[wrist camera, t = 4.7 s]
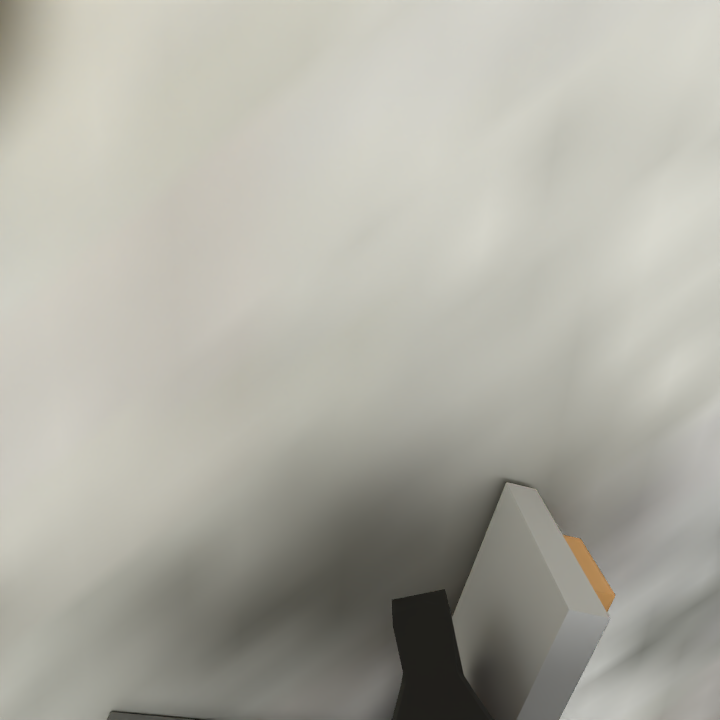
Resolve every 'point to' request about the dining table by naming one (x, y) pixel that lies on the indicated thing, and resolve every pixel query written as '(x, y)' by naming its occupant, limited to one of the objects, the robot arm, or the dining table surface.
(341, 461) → the dining table surface
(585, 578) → the door
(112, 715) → the case
